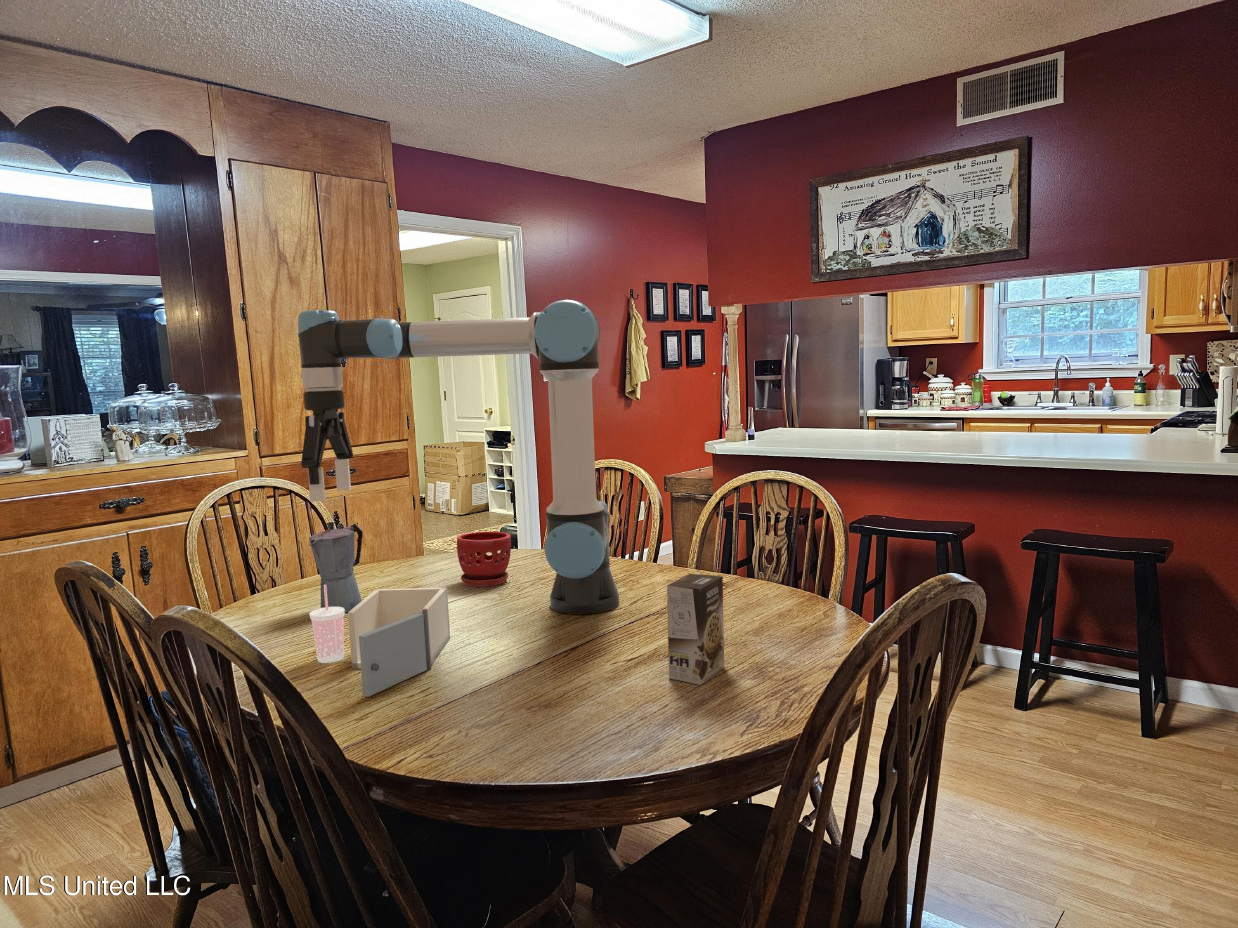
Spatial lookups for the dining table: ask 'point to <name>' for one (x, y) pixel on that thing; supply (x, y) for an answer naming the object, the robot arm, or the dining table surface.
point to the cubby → (402, 617)
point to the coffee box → (695, 628)
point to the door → (392, 654)
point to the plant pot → (484, 557)
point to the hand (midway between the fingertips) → (331, 495)
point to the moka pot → (337, 565)
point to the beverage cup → (328, 632)
